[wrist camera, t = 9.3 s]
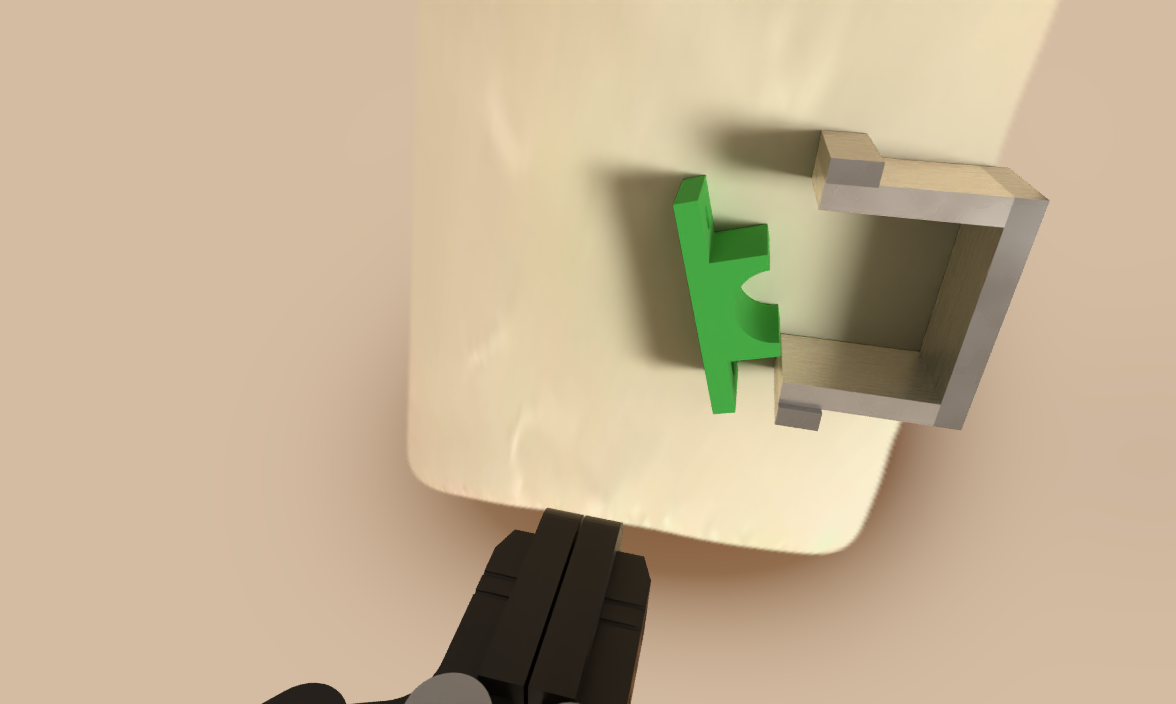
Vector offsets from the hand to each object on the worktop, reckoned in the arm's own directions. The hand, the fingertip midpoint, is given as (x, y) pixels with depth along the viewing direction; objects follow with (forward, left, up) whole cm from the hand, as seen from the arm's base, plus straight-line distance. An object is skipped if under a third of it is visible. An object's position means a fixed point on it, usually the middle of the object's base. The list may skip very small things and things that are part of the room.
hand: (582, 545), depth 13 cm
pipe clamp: (+4, +3, -24) cm, 25 cm away
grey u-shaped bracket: (+3, +9, -24) cm, 26 cm away
